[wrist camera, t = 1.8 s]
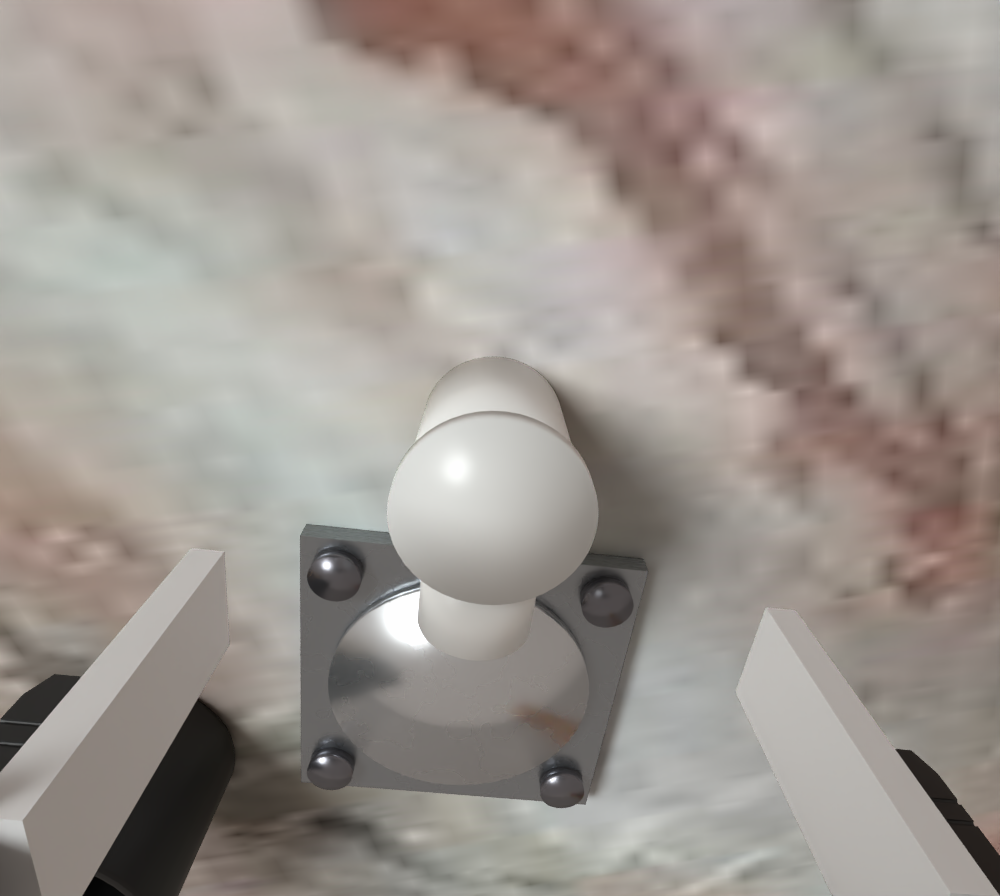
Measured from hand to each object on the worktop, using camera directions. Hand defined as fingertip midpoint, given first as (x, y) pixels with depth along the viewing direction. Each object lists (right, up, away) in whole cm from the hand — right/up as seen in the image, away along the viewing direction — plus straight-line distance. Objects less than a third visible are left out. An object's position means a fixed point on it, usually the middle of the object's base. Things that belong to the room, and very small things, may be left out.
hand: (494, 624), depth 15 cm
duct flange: (-2, -7, +17) cm, 19 cm away
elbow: (0, +4, +12) cm, 13 cm away
